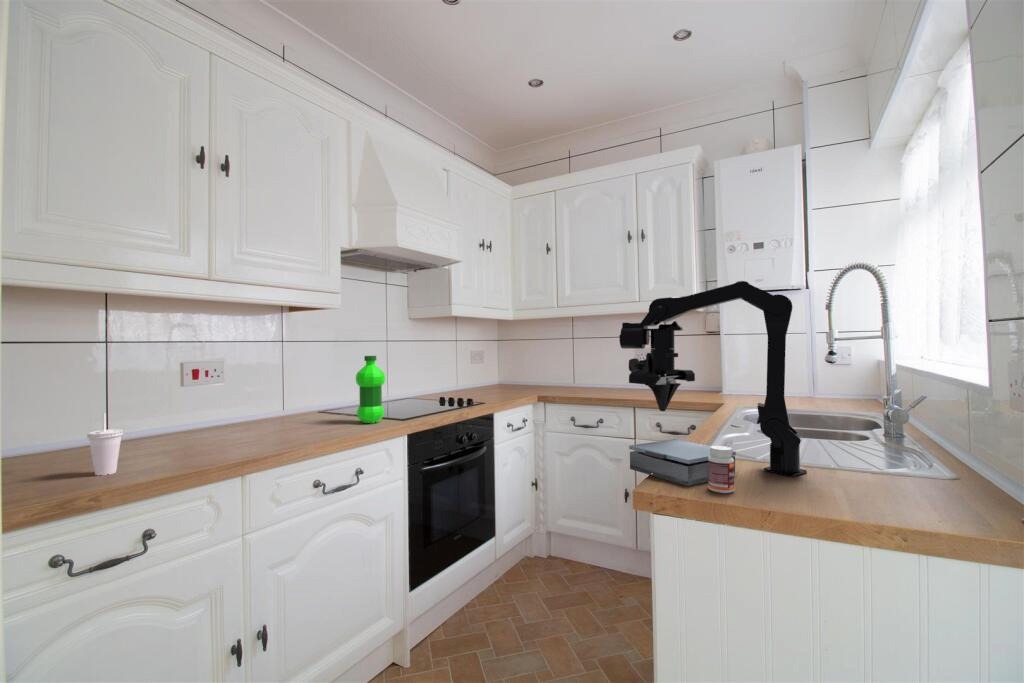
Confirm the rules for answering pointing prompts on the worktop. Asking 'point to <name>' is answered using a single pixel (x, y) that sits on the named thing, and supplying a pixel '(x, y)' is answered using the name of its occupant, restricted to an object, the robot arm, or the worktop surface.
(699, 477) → the grey lidded case
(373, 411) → the plastic bottle
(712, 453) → the pill bottle
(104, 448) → the smoothie
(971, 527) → the worktop surface
